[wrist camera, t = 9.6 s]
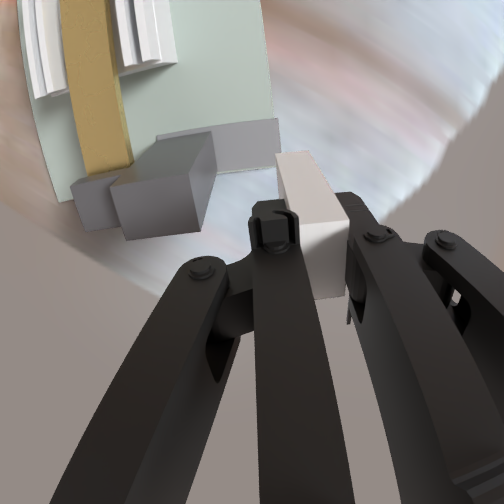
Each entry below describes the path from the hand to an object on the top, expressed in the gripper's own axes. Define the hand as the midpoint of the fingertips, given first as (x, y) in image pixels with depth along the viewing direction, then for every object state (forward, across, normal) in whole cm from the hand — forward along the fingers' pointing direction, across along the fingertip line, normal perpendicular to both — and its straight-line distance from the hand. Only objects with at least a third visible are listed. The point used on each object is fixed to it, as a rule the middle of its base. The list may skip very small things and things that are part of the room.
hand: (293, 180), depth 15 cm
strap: (+5, -10, +8) cm, 14 cm away
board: (+11, -10, +8) cm, 17 cm away
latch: (+9, -8, -1) cm, 13 cm away
